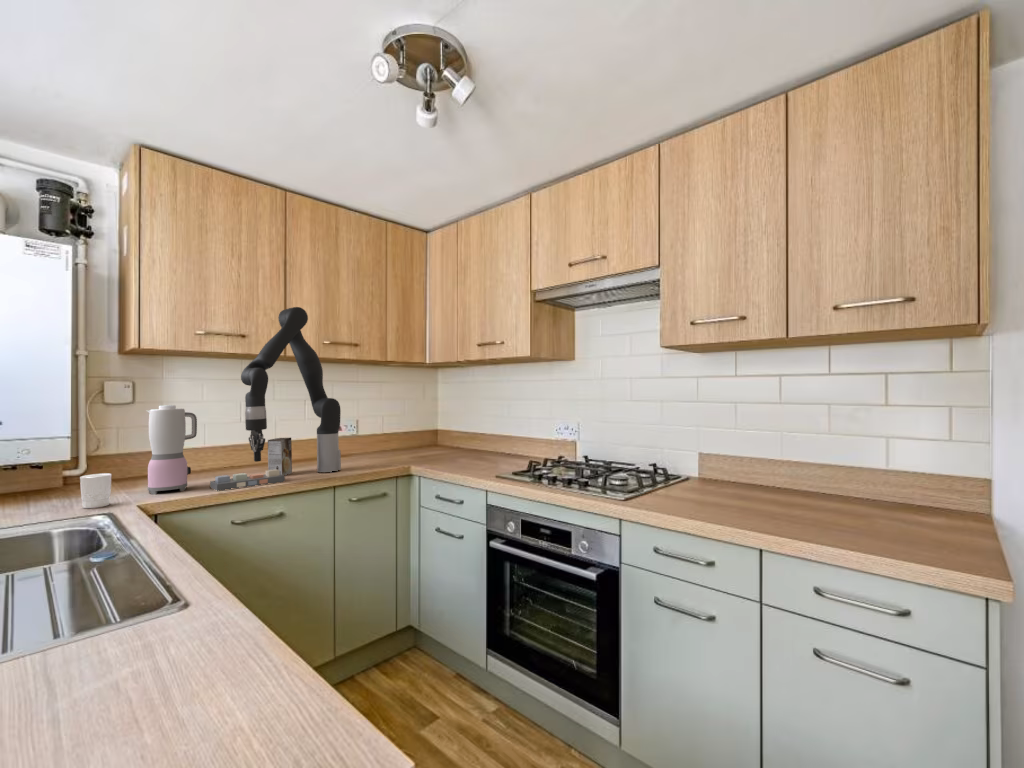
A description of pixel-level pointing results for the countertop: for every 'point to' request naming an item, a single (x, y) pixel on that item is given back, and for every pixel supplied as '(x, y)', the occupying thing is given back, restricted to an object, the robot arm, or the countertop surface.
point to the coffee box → (280, 455)
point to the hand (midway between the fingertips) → (257, 461)
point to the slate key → (222, 479)
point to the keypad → (246, 482)
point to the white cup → (95, 490)
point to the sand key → (272, 472)
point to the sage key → (239, 476)
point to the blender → (168, 448)
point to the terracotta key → (256, 476)
